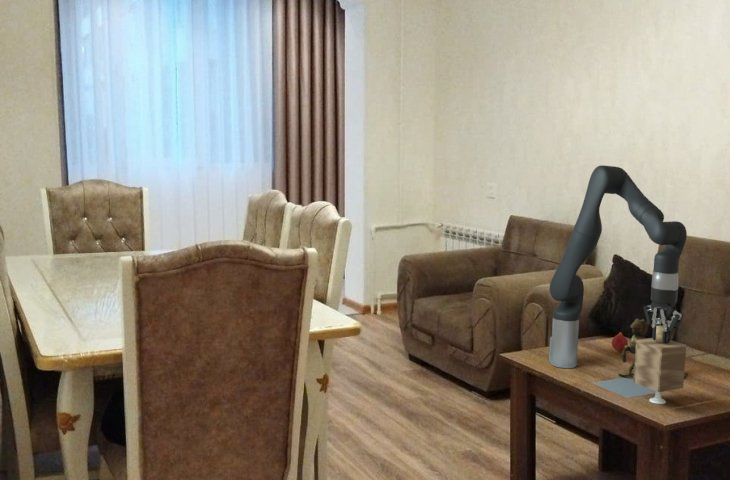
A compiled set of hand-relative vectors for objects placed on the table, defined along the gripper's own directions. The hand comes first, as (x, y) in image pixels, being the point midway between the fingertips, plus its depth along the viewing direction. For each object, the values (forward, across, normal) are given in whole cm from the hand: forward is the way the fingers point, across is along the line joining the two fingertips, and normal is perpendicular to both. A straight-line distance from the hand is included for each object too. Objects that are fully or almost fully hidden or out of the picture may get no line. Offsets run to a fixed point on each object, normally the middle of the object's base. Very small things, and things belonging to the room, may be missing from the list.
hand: (661, 341), depth 229 cm
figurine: (+20, -20, +20) cm, 34 cm away
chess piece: (+20, 0, 0) cm, 20 cm away
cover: (+14, 0, 0) cm, 14 cm away
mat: (+20, -14, +2) cm, 24 cm away
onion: (+20, -47, +31) cm, 60 cm away
